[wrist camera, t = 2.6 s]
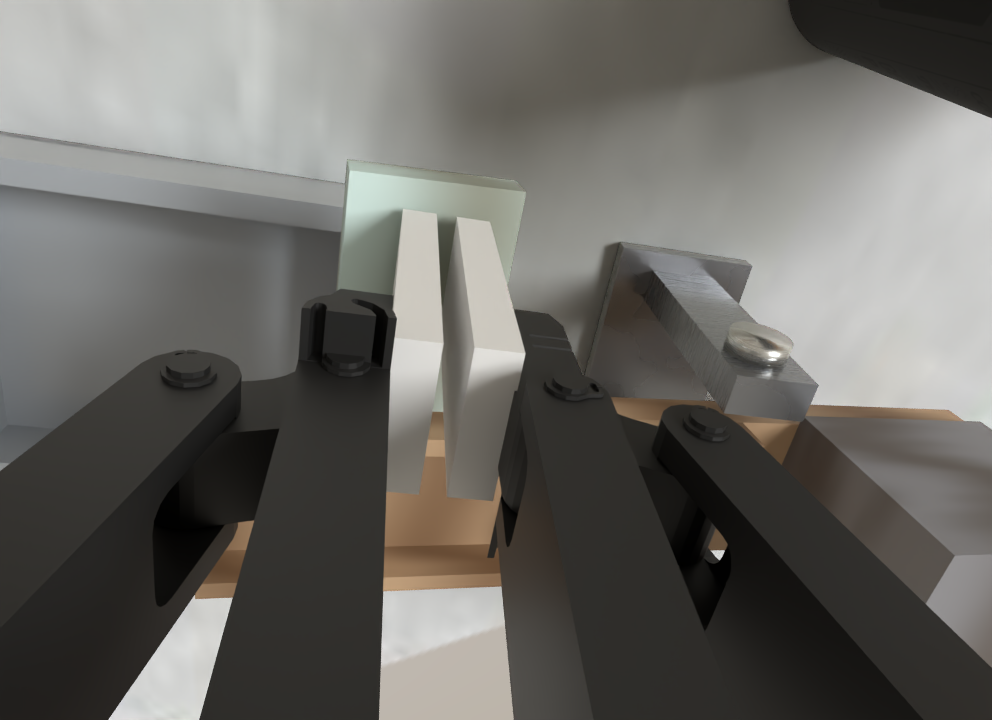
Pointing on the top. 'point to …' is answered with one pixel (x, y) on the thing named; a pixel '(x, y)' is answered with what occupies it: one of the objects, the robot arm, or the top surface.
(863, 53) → the drinking cup
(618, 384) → the stand
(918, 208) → the top surface
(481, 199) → the lever
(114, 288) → the dish
